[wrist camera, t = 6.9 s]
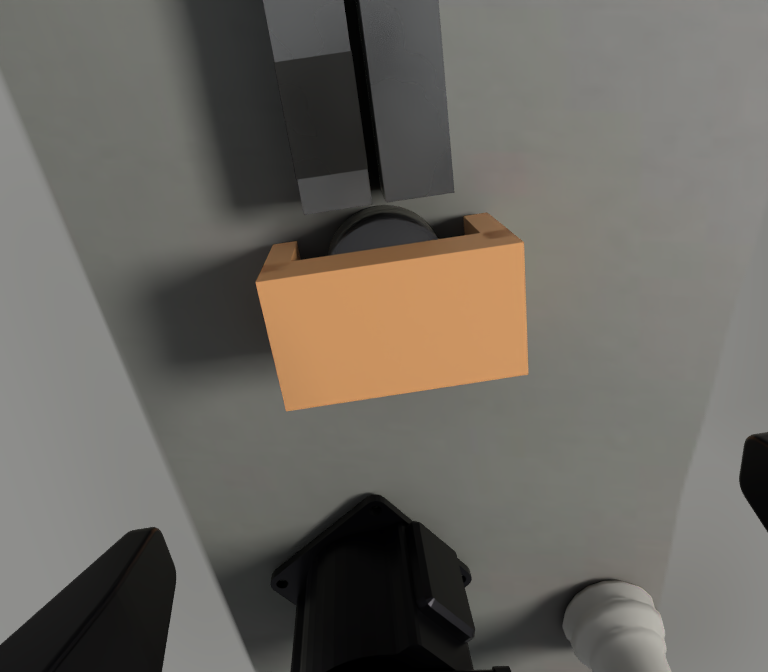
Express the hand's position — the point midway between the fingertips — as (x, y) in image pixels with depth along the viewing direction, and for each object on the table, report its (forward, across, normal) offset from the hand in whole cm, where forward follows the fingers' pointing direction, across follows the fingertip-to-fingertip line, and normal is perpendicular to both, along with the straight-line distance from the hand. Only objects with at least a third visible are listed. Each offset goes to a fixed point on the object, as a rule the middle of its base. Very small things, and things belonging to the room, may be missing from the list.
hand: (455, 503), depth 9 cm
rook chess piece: (+12, -8, +18) cm, 23 cm away
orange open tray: (+12, 0, 0) cm, 12 cm away
